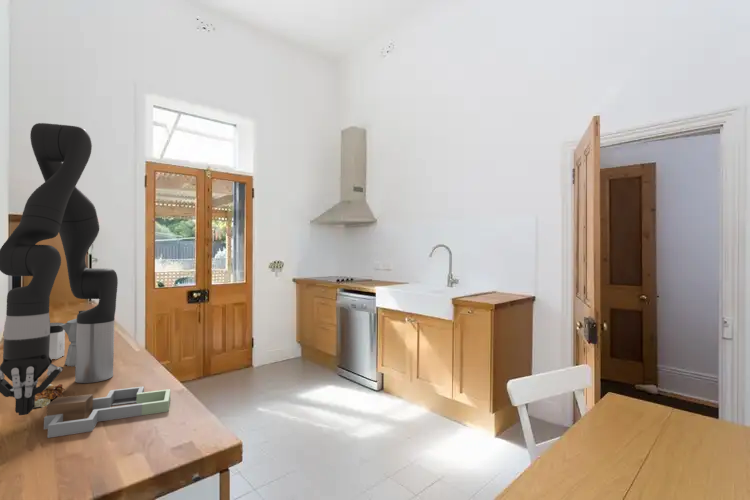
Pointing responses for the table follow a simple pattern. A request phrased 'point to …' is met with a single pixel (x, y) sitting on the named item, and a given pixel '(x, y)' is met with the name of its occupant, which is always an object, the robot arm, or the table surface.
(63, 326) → the coffee maker
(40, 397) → the pastry
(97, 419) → the track
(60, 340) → the jar
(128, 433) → the table surface
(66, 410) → the block
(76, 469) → the table surface
